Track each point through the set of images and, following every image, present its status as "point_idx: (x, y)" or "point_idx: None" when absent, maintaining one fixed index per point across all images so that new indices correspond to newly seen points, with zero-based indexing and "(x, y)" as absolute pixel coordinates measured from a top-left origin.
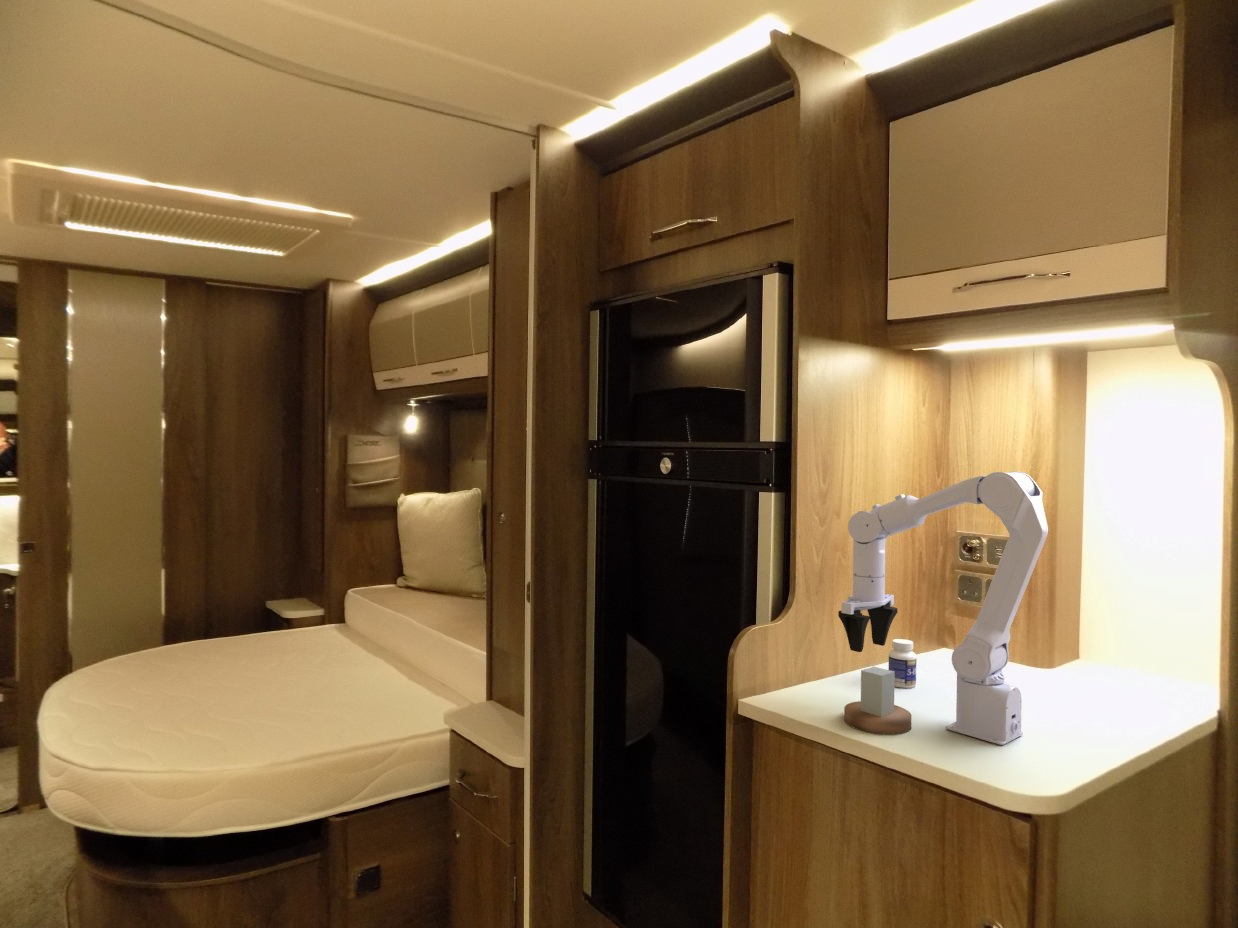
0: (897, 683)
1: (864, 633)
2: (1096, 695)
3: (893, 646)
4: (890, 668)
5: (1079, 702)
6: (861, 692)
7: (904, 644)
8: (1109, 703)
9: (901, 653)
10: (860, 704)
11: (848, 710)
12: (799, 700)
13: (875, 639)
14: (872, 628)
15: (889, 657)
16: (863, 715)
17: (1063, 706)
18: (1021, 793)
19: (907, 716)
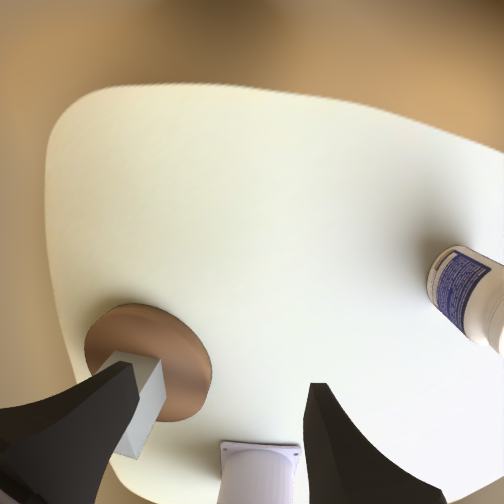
0: (430, 287)
1: (106, 460)
2: (501, 446)
3: (501, 303)
4: (455, 275)
5: (470, 456)
6: (96, 373)
7: (497, 348)
8: (476, 464)
9: (480, 326)
10: (144, 336)
11: (95, 332)
12: (127, 166)
13: (310, 406)
14: (325, 431)
15: (477, 279)
16: (101, 362)
17: (447, 460)
18: (126, 486)
19: (167, 417)
